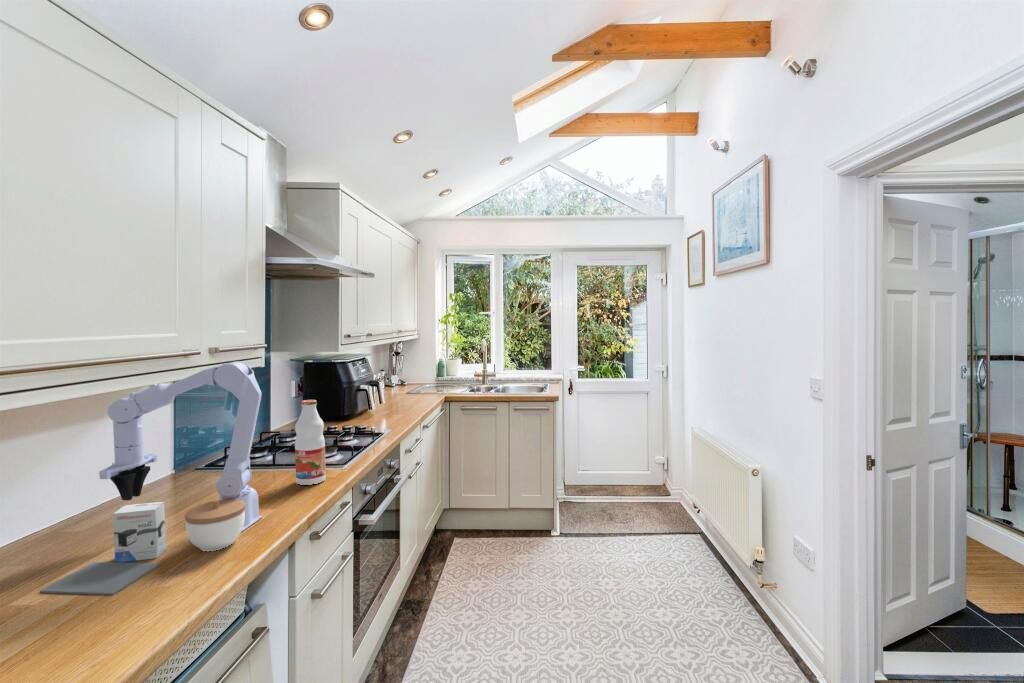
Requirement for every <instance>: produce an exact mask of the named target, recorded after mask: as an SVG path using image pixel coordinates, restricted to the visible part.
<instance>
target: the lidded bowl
mask: <svg viewBox="0 0 1024 683" xmlns="http://www.w3.org/2000/svg"><path fill="white" fill-rule="evenodd" d="M184 519H185V528H186V533H187V534H186V535H187V537H188V539H189V541H190V542H191V544H192V545H193V546H195V547H196V548H198V549H199V550H200V551H201V550H202V552H205V551H207V553H208V552H209V551H211V552H216V550H217V551H220V549H221V550H223V549H222V548H224V549H226V548H229V547H230V546H232V545H233V544H234V543H233V542H235V540H236V539H237V538H239V536H240V535H241V533H242V532H243V531H242V529H243V526H244V522H245V502H244V501H242V500H238V499H223V500H219V499H214V500H211V501H208V502H204V503H201V504H198V505H196V506H193V507H191V508H190V509H188V510H187V511H186V512H185V513H184ZM241 531H242V532H241ZM231 544H232V545H231ZM229 545H230V546H229ZM228 546H229V547H228ZM225 547H226V548H225Z"/></svg>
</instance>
